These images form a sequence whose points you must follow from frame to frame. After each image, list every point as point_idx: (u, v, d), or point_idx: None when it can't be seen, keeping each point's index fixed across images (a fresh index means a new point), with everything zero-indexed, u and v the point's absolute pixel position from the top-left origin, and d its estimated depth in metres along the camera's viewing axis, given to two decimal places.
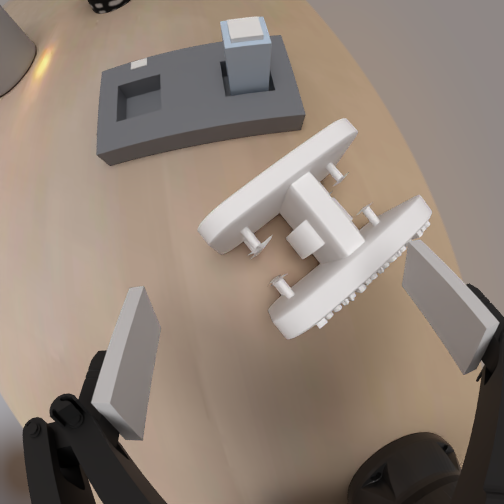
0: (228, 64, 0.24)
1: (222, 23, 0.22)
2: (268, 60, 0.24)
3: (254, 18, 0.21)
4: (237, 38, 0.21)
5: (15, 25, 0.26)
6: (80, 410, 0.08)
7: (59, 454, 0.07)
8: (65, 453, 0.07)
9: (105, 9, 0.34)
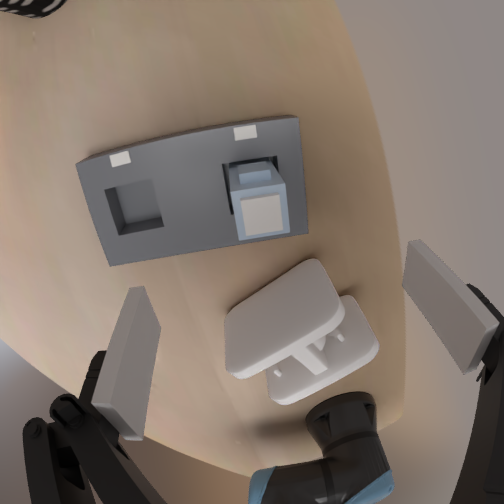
0: None
1: (233, 195, 0.22)
2: None
3: (274, 198, 0.22)
4: (253, 234, 0.23)
5: None
6: (80, 410, 0.08)
7: (59, 454, 0.07)
8: (65, 453, 0.07)
9: (40, 15, 0.19)
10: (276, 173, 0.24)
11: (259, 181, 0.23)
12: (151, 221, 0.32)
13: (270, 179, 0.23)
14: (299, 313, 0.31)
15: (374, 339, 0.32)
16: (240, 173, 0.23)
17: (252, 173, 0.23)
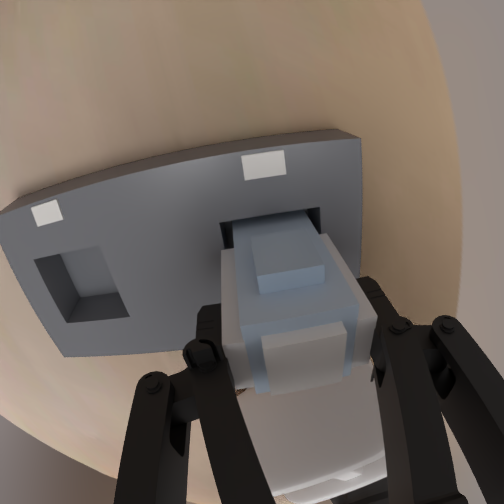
0: None
1: (247, 332, 0.10)
2: None
3: (336, 339, 0.10)
4: (285, 392, 0.11)
5: None
6: (215, 356, 0.10)
7: (179, 408, 0.09)
8: (187, 405, 0.09)
9: None
10: (329, 259, 0.12)
11: (300, 286, 0.11)
12: (113, 299, 0.20)
13: (323, 283, 0.11)
14: (335, 433, 0.18)
15: None
16: (260, 272, 0.11)
17: (286, 273, 0.11)
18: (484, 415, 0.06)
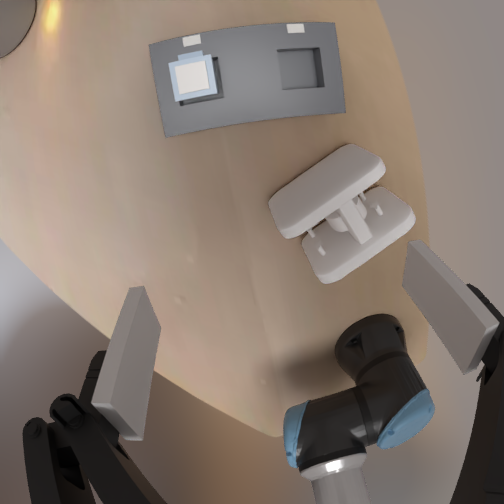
0: (180, 100, 0.28)
1: (170, 65, 0.24)
2: None
3: (201, 63, 0.24)
4: (185, 93, 0.25)
5: None
6: (80, 410, 0.08)
7: (58, 454, 0.07)
8: (64, 453, 0.07)
9: None
10: None
11: None
12: None
13: None
14: (345, 172, 0.33)
15: (411, 208, 0.34)
16: (179, 55, 0.25)
17: (188, 53, 0.25)
18: None
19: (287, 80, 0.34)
